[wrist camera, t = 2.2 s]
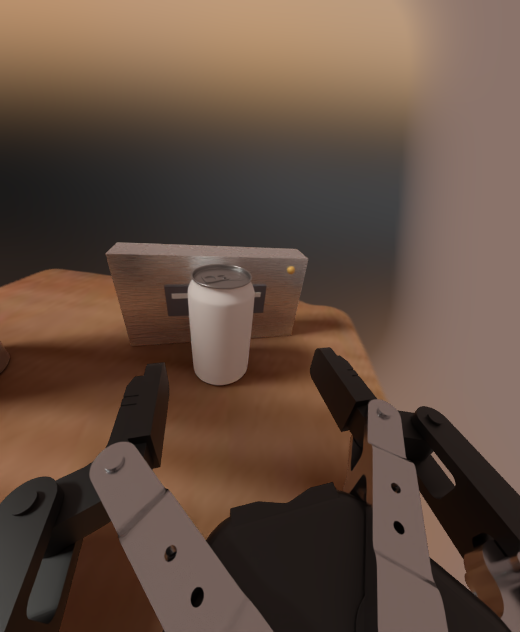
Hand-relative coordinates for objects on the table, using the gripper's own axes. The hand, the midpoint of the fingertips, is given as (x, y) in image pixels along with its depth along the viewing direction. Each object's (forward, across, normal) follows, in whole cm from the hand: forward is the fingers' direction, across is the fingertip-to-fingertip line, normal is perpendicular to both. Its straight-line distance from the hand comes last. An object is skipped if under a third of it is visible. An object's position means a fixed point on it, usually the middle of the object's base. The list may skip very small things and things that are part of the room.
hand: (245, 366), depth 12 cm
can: (+12, 0, +12) cm, 16 cm away
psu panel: (+18, 0, +11) cm, 22 cm away
